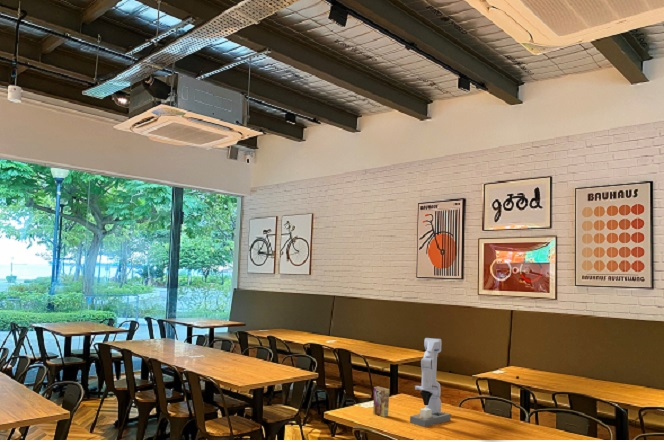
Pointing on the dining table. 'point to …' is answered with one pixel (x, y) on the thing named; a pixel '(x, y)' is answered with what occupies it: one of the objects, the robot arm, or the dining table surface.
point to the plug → (426, 413)
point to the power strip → (431, 419)
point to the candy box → (381, 401)
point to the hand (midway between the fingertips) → (426, 405)
